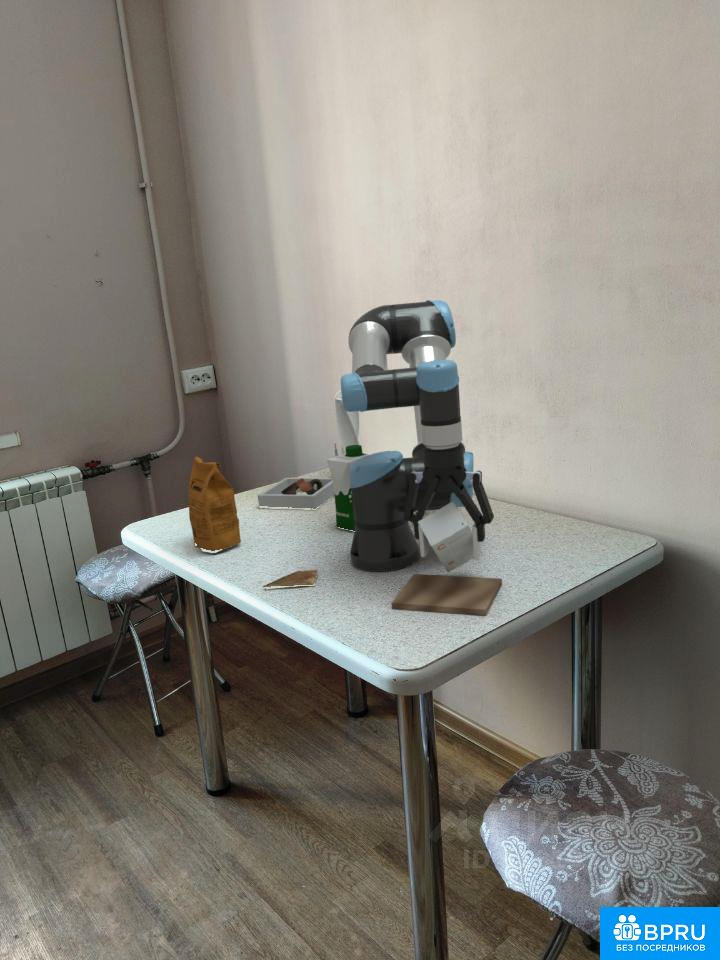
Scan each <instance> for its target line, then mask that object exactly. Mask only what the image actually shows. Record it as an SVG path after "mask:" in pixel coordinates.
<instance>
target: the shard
mask: <svg viewBox="0 0 720 960" xmlns="http://www.w3.org/2000/svg"><path fill="white" fill-rule="evenodd" d="M317 573H319V572H318V569H309V570H298V571H294V572H291V573H290V574H287V575H285V576H282V577H280V578H278V579H276V580H273V581H272V582H269V583H267V584H265V585H262V588H264V587H271V586H294V585H313V584H314V583H315V584H316V581H315V580H317V579H316V576H317Z"/></svg>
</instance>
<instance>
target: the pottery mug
mask: <svg viewBox="0 0 720 960" xmlns="http://www.w3.org/2000/svg"><path fill="white" fill-rule="evenodd" d="M300 478H301V479H299V480H298V481H296V482H295V483H293V484H291V485H290V486H288V487H287V488H285V489H284V490H283V491H282V492H281V493H282V494H287V495H298V492H296V490H297V489H298V488H300V490H301V491H302V492H301V493H306V495H312V494H314V493H315V492H317V491H318V490H319V489H321V488H322V487H323V485H322V482H321V481H320V480H319V479H313V480H311V481H310V482H306V481H304V479H303V478H304V477H300ZM314 484H317V490H315V489H314Z"/></svg>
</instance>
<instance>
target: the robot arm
mask: <svg viewBox="0 0 720 960" xmlns="http://www.w3.org/2000/svg"><path fill="white" fill-rule="evenodd" d="M454 323H455V322H454V317H453V314H452V311H451V308H450V307H449V305H448V303H447V302H446V301H444V300H441V299H439V300H431V299H427V300H425V301H420V302H409V303H408V302H407V303H398V304H397V303H395V304H384V305H380V306H377V307H374V308H372V309H371V310H368V311H367V312H365V313H364V314H362V315H361V316H360V317H359V318H358V319H356V321H355V322H354V323H353V324H352V327H351V328H350V330H349V333H348V348H349V350H350V352H351V353H352V359H351V363H352V365H351V373H346V374H343V375H341V378H340V390H341V392H340V394H341V395H342V402H343V407H344V409H345V410H346V411H348V412H354V411H359V412H361V413H364V412H369V411H378V410H379V411H380V410H388V409H389V410H390V409H396V408H397V409H398V408H409V407H410V408H411V407H413V410H414V419H415V429H416V437H417V444H416V445H414V446H413V449H412V451H411V456H410V457H404V455H403V453H402V452H401V451H399V450H385V451H384V450H383V451H379V452H374V453H371V454H367V455H368V456H365V457H362V458H360V459H358V460H357V461H355V462H354V463H353V464H352V465H351V467H350V487H351V491H352V501H353V511H354V520H355V532H353V538H352V542H351V546H350V551H349V552H350V553H349V556H350V563H351V565H352V566H353V567H354V568H357V569H359V570H362V571H369V572H388V571H389V572H390V571H396V570H399V569H403V568H405V567H408V566H410V565H412V564H414V563H416V562H417V561H418V560H419V558H420V557H421V558H426V556H427V555H428V553H429V542H428V540H427V538H426V537H425V535H424V533H423V531H422V529H421V528H420V526H419V524H418V521H420V520H421V519H423V518H424V516H425V514H426V512H427V511H437V510H439V509H440V508H442V507H444V506H445V505H447V504H449V503H451V502H452V501H453V502H454V503H455V505H456V506H457V508H463V507H464V509H465V510H466V512H467V514H468V515H469V516H470V518H471V520H472V521H473V525H472V527H471V531H472V534H473V549H474V558H473V560H475V561H476V560H479V559H480V558H481V556H482V553H481V551H482V546H481V545H482V544H481V543H483V542H484V541H485V539H486V526H485V525H486V524H488V525H489V524H491V523H492V522H493V520H494V518H495V516H494V513H493V510H492V507H491V504H490V502H489V498H488V495H487V492H486V489H485V487H484V485H483V472H482V471H481V470H475V471H474V453H473V452H471V451H466V447H465V444H464V442H462V441H463V427H462V426H463V425H462V416H461V401H460V400H461V398H460V386H459V385H460V384H459V382H460V377H459V372H458V365H457V363H456V361H454V360H452V359H451V360H450V359H447V358H449V355H450V354H451V350H452V349H453V348H455V346H456V342H457V339H456V336H457V335H456V329H455V328H456V327H455V325H454ZM396 354H401V356H402V359H403V360H404V361H405V362H406V363H407V364H409V367H404V368H396V369H395V368H394V369H389V366H388V357H387V356H388V355H396ZM473 492H474V494H475V496H476V500H477V504H478V505H479V507H478V505H476V502H474V500H473ZM479 508H480V509H479ZM414 512H416V513H415V514H414ZM409 522H410V523H412V525H413V530H412V528H411V526H410V524H409ZM413 531H414V532H413ZM417 540H419V545H418V542H417ZM419 549H420V550H419Z"/></svg>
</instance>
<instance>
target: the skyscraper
mask: <svg viewBox="0 0 720 960" xmlns="http://www.w3.org/2000/svg"><path fill="white" fill-rule="evenodd" d="M339 393H341V389H340V390H338V391H337V392H336V393H335V395H334V397H333V406H334V408H333V409H334V416H335V423H336V428H337V433H338V437H339V440H340V443H341V447H340V448H341V454H344V453H346V447H347V446H351V445H360V442H359V435H360V413H359V412H360V411H354V412H348V411H346V410H345V409H344V407H343V402H342V394H341V395H340V396H339V397H337V396H338V394H339ZM336 397H337V398H336ZM334 455H335V456H338V455H339V454H338V449H337V444H336V443H334Z"/></svg>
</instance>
